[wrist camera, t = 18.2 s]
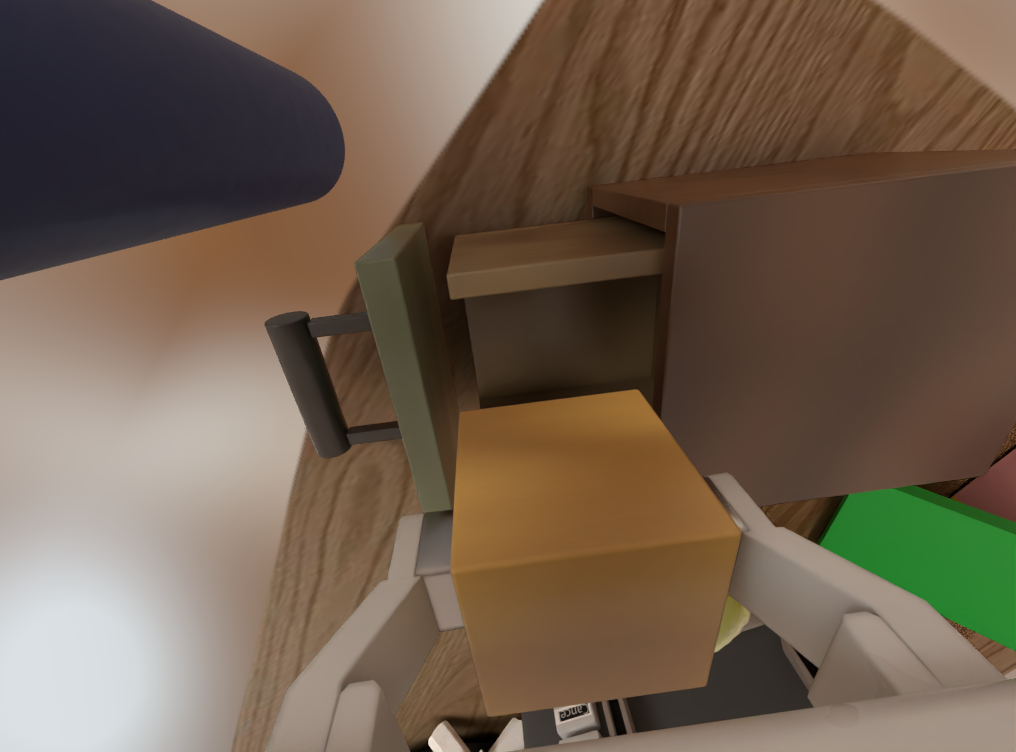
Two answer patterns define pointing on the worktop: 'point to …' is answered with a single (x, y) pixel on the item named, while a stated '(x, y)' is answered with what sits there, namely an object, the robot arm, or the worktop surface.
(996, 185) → the cabinet
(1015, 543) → the bracket
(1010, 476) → the alarm clock
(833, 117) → the worktop surface
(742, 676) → the toaster
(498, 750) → the corner connector
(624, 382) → the drawer
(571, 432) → the block
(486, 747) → the container
